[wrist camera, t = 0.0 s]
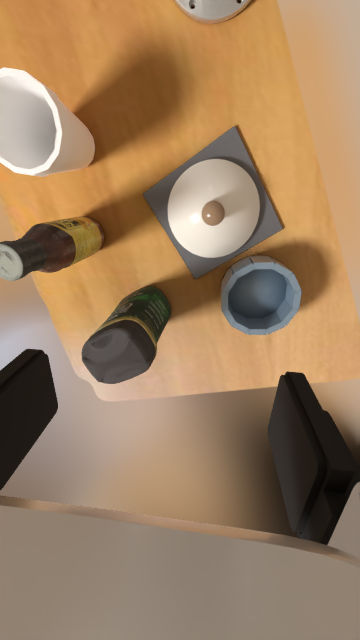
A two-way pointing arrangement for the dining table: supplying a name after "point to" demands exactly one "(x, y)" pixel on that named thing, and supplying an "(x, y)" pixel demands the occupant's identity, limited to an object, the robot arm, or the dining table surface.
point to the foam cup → (39, 128)
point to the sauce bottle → (50, 247)
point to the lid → (213, 208)
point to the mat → (221, 148)
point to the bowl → (259, 295)
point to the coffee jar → (127, 337)
